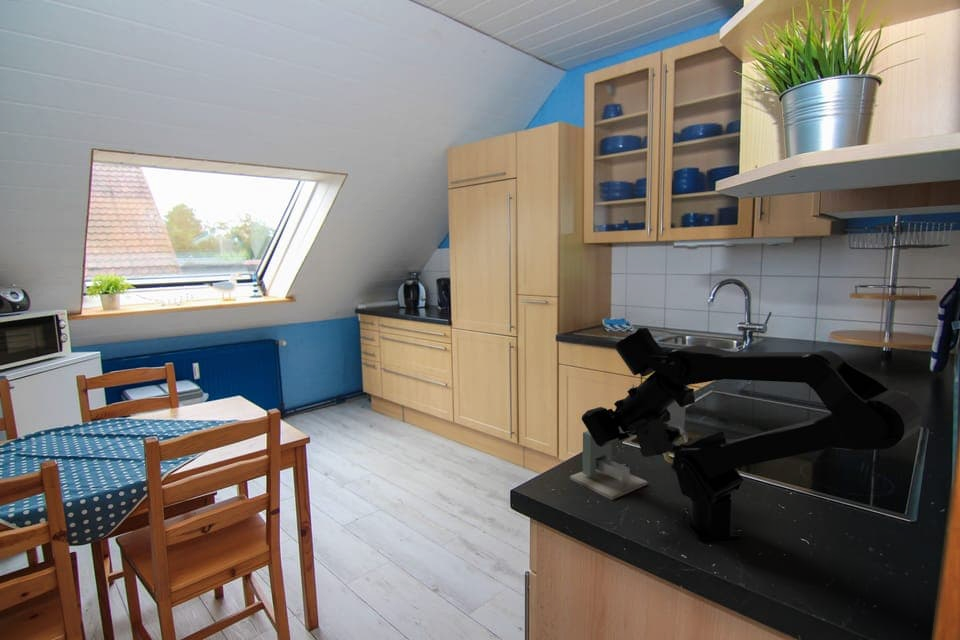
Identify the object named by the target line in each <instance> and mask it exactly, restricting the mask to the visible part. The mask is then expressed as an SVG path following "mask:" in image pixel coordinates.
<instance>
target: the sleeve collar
mask: <svg viewBox="0 0 960 640" xmlns="http://www.w3.org/2000/svg"><path fill="white" fill-rule="evenodd" d="M612 443H613V442H612ZM612 443H611V444H608V445H605V446H602V447H600V446H598V445H597V444H596V443H595V441H594V439H593V438H592V436H591V434H590V433H589V431H588V430H586V431H584V432H582V454H583V463H582V471H583V474H586V475H588V476H590V477H591V476H594V475H596V458H599V457H601V456H602V457H604V458H607V459H609V460H611V461H612V453H613V452H612V446H613V445H612Z"/></svg>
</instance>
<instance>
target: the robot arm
mask: <svg viewBox="0 0 960 640" xmlns="http://www.w3.org/2000/svg"><path fill="white" fill-rule="evenodd" d="M614 349H615V350H616V352H617V353H618V355H619V357H620V358H621V359H622V361H623V362H624V364H625V365H626V367H627V368H628V369H629V371H630V372H631V374H632V375H633V376H637V375H639V376H640V377H644V378H645V377H646V376H648V377H647V378H646V379H645V380H643V382H641V383H640V384H639V385H638V386H634V387H631V388H629V389H628V390H627V391H626V392H627V394H628V395H626V396H625V398H622V399H619V400H616V401H615V402H614V403H613V404H614V406H615V410H613V408H610V409H609V408H608V409H607V408H605V407H604V406H600V407H596V408H593V409H589V410H587V411H586V412H584V413H583V414H582V416H581V421H582V423H583V424H584V426H585V427H586V429H587V431H589V433H590V434H591V436H592V438H593V439H594V441H595V443H596V444H597V445H598V446H600V447H602V446H605V445H608V444H611V443H614V442H616V441H622V440H625V439H627V438H630V435H633V436H636V439H637V442H638V445H639V448H640V454H641V455H642V456H643V457H644V458H648V457H655V456H662V455H663V454H664V453H666V452H669V453H670V452H671V451H673V448H675V447H676V446H675V444H673V443H674V442H676V441H677V440H678V439H679V438H680V437H681V433H680V431H679V429H678V428H675V427H672V426H668V424H666V423H667V422H668V421H670V412H669V411H668V410H667V407H669V406H670V405H671V404H672V403H674V402H675V401H676V402H677V403H678V405H679V406H680V407H684V406H686V407H687V406H690V405H693V404H695V403H696V398H695V397H696V396H695V393H694V392H695V389H694V388H691V387H689V386H690V385H697V384H704V383H710V382H714V381H721V380H731V381H732V380H734V381H757V382H778V383H779V382H780V383H781V382H782V383H802V384H806V385H808V386H809V387H810V388H811V389H812V390H813V391H814V392H815V393H816V395H817V397H819V399H820V400H821V403H823V404H824V406H825V407H826V409H827V410H828V411H829V412H830V414H827V415H825V416H821V417H818V418H814V419H810V420H805V421H803V422H798V423H795V424H790V425H786V426H782V427H779V428H775V429H771V430H768V431H764V432H761V433H756V434H752V435H749V436H744V437H741V438H736V439H731V438H730V439H729V438H726V436H725V433H724V430H720V431H717V432H714V433H713V434H712V433H711V434H710V435H705V434H703V435H700V436H699V437H695V438H692V439H691V440H688V442H685V443H683V444H680V446H679V447H680V448H679V449H678V450H675V452H674V453H673V458H672V459H673V464H672V465H673V468H674V470H675V473H676V476H677V479H678V480H677V481H678V485H679V488H680V492H681V494H682V495H683V496H685V497H688V499H690V503H689V505H690V506H689V515H682V516H680V520H681V522H682V523H683V524H684V525H685V526H686V527H687V528H688V529H689V531H690V532H691V533H692V534H693V535H694V536H695V537H696V538H697V539H698V540H699V541H702V542H705V541H706V542H707V541H716V540H717V541H719V540H720V541H721V540H733V539H734V540H735V539H739V538H740V536H741V535H740V533H739V532H738V531H737V530H736V529H734V527H732V525H731V523H732V508H733V507H732V505H733V500H732V494H733V493H734V492H736V491H739V490H740V489H741V488H742V485H743V483H744V482H745V481H744V478H743V476H742V475H741V474H740V472H738V471H739V470H737V468H741V467H746V466H751V465H756V464H762V463H767V462H769V461H770V462H771V461H775V460H780V459H785V458H790V457H795V456H799V455H805V454H808V453H813V452H819V451H823V450H828V449H829V450H830V449H837V450H846V451H878V450H879V451H881V450H887V449H889V448H893V447H895V446H896V445H898V444H900V443H901V442H903V441H905V440H906V439H907V438H909V437H910V436H911V435H913V434H914V433H916V432H917V431H919V429H920V427H921V424H922V422H923V414H922V412H921V409H920V407H919V406H918V404H917V403H916V402H915V401H914V399H912V398H911V397H910V396H908V395H906V394H904V393H901V392H898V391H896V390H892V389H890V388H889V387H888V386H887V385H884V383H882V382H881V381H880V380H878V379H877V378H876V377H873V376H871V375H870V374H868V373H867V372H865V371H863V370H861V369H859V368H857V367H855V366H854V365H852V364H850V363H848V361H846V360H845V359H844V358H842V356H840V355H839V354H838V353H836V352H834V351H832V350H826V349H822V350H819V351H801V352H800V351H788V352H787V351H786V352H785V351H783V352H781V351H774V352H773V351H769V352H767V351H763V352H761V351H760V352H759V351H757V352H756V351H754V352H751V351H749V352H748V351H747V352H746V351H745V352H744V351H743V352H739V351H738V352H735V351H728V350H724V349H722V348H719V347H715V346H709V345H703V344H696V345H691V346H686V347H682V348H677V349H672V350H666V351H663V349H662V348H661V346H660V345H659V344H658V342H657V340H656V339H655V338H654V337H653V335H652V333H651V331H650V330H649V329H648V327H643V328H642V327H641V328H637V330H636V331H635V332H633V333H630V334H629V335H628V336H626V337H624V338H623V339H620V340H619V341H617V343H616V345H615V347H614ZM686 385H687V386H686Z"/></svg>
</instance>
